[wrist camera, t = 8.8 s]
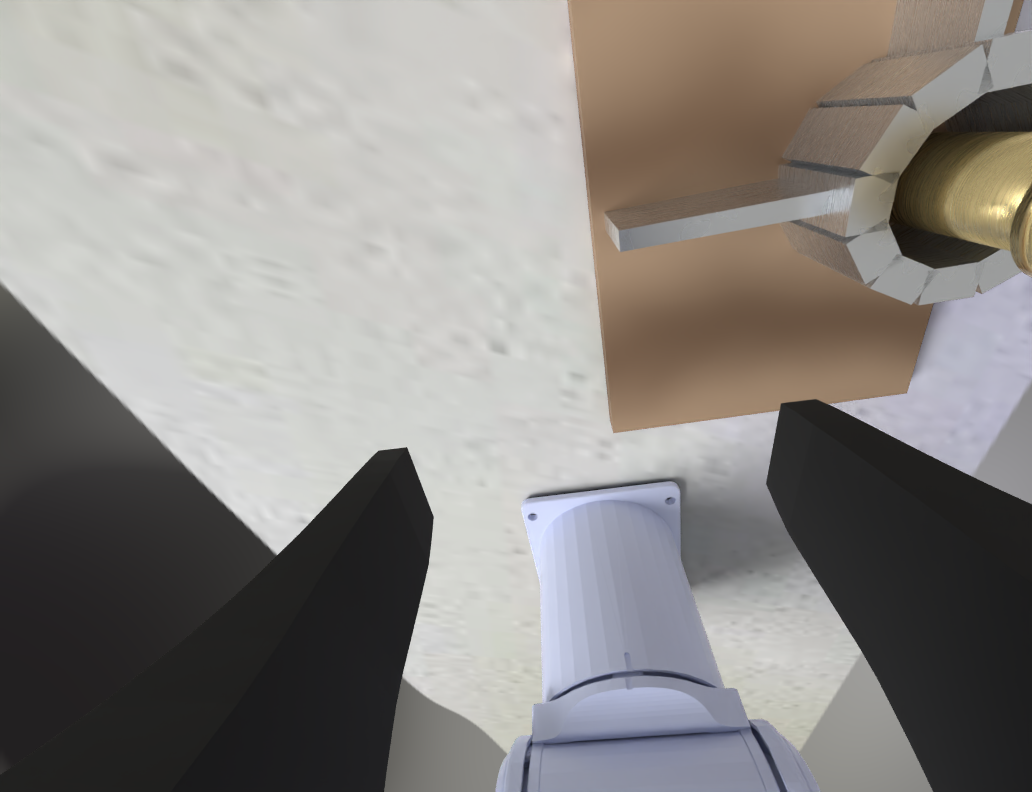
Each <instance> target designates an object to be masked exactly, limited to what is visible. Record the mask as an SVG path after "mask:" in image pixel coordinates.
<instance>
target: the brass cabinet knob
mask: <svg viewBox="0 0 1032 792" xmlns="http://www.w3.org/2000/svg"><path fill="white" fill-rule="evenodd" d="M889 222H891V223H895V224H899V225H904V226H908V227H912V228H916V229H920V230H924V231H929V232H933V233H937V234H941V235H945V236H949V237H953V238H958V239H962V240H966V241H970V242H974V243H978V244H983V245H987V246H991V247H995V248H999V249H1003V250H1008V251H1011V255H1012V258H1013V260H1014V262H1015V264H1016V265H1017V267H1018V268H1019V269H1020V270H1021V271H1022V272H1023V273H1024V274H1026V275H1028V276H1030V277H1032V132H931V133H930V135H929V136H928V138H927V139H926V140H925V142H924V143H923V144H922V146H921V147H920V149H919V150H918V151H917V153H916V154H915V156H914V157H913V158H912V160H911V161H910V163H909V164H908V165H907V167H906V168H905V169H904V171H903V172H902V174H901V175H900V176H899V178H898V183H897V187H896V192H895V196H894V201H893V205H892V210H891V214H890V219H889Z"/></svg>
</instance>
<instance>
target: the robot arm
mask: <svg viewBox="0 0 1032 792" xmlns="http://www.w3.org/2000/svg"><path fill="white" fill-rule="evenodd" d="M766 484H767V487H768V489H769V491H770V494H771V496H772V498H773V501H774V503H775V505H776V508H777V510H778V512H779V514H780V516H781V518H782V520H783V523H784V525H785V527H786V529H787V531H788V533H789V535H790V536H791V538H792V540H793V541H794V543H795V545H796V546H797V548H798V550H799V551H800V553H801V554H802V556H803V558H804V559H805V561H806V563H807V564H808V566H809V567H810V569H811V571H812V572H813V574H814V576H815V577H816V579H817V580H818V582H819V584H820V585H821V587H822V588H823V590H824V592H825V593H826V595H827V596H828V598H829V600H830V601H831V603H832V604H833V606H834V608H835V609H836V611H837V612H838V614H839V616H840V617H841V619H842V620H843V622H844V624H845V625H846V627H847V628H848V630H849V632H850V633H851V635H852V636H853V638H854V640H855V641H856V643H857V644H858V646H859V648H860V649H861V651H862V653H863V654H864V656H865V658H866V660H867V661H868V663H869V665H870V666H871V668H872V670H873V672H874V673H875V675H876V677H877V679H878V681H879V683H880V685H881V687H882V689H883V690H884V692H885V694H886V696H887V698H888V700H889V702H890V704H891V706H892V708H893V710H894V712H895V714H896V716H897V718H898V720H899V722H900V724H901V726H902V728H903V730H904V732H905V734H906V736H907V738H908V740H909V742H910V744H911V746H912V748H913V750H914V752H915V754H916V756H917V759H918V761H919V763H920V765H921V767H922V769H923V771H924V773H925V775H926V777H927V780H928V782H929V784H930V786H931V788H932V790H933V792H1032V504H1030V503H1028V502H1025V501H1023V500H1021V499H1019V498H1017V497H1014V496H1012V495H1010V494H1008V493H1006V492H1004V491H1001V490H999V489H997V488H995V487H993V486H991V485H988V484H986V483H984V482H982V481H980V480H978V479H976V478H974V477H972V476H970V475H968V474H965V473H963V472H961V471H959V470H957V469H955V468H953V467H951V466H949V465H947V464H945V463H943V462H941V461H939V460H937V459H935V458H933V457H931V456H929V455H927V454H925V453H923V452H921V451H919V450H917V449H915V448H913V447H911V446H909V445H907V444H905V443H904V442H902V441H900V440H898V439H896V438H894V437H892V436H890V435H888V434H886V433H884V432H882V431H880V430H878V429H876V428H874V427H872V426H870V425H869V424H867V423H865V422H863V421H861V420H859V419H857V418H855V417H853V416H851V415H849V414H847V413H845V412H843V411H841V410H839V409H837V408H835V407H833V406H830V405H828V404H826V403H824V402H822V401H819V400H817V399H812V400H803V401H795V402H786V403H781V406H780V411H779V417H778V422H777V428H776V433H775V438H774V444H773V449H772V455H771V460H770V466H769V471H768V477H767V482H766ZM669 497H672V498H671V499H667V498H669ZM531 513H534V514H535V515H530V514H531ZM522 514H523V518H524V522H525V526H526V530H527V534H528V538H529V542H530V545H531V549H532V553H533V557H534V561H535V565H536V569H537V573H538V577H539V581H540V599H541V646H542V694H543V703H539V704H534V705H533V706H532V735H525V736H520V737H518V738H517V739H516V740H515V741H514V743H513V745H512V747H511V750H510V751H509V753H508V754H507V756H506V758H505V759H504V760H503V763H502V765H501V768H500V771H499V775H498V779H497V785H496V791H495V792H821V791H820V789H819V787H818V784H817V782H816V780H815V779H814V777H813V775H812V773H811V771H810V769H809V768H808V766H807V764H806V762H805V761H804V759H803V758H802V756H801V754H800V753H799V752H798V750H797V749H796V748H795V746H794V745H793V744H792V743H791V742H790V741H789V740H788V739H786V738H785V737H784V736H783V735H781V734H780V733H779V732H778V731H777V730H776V728H775V727H774V726H773V725H771V724H770V723H769V722H768V721H766V720H764V719H750V720H748V718H747V716H746V713H745V710H744V707H743V705H742V702H741V699H740V696H739V693H738V691H737V689H735V688H725V687H724V684H723V681H722V678H721V675H720V673H719V670H718V667H717V664H716V661H715V658H714V655H713V652H712V649H711V646H710V643H709V640H708V637H707V635H706V632H705V629H704V626H703V623H702V620H701V617H700V614H699V611H698V608H697V605H696V602H695V599H694V596H693V594H692V591H691V588H690V585H689V582H688V579H687V576H686V573H685V570H684V567H683V564H682V561H681V535H680V489H679V487H678V485H677V484H676V483H675V482H669V481H668V482H660V483H652V484H643V485H635V486H627V487H619V488H610V489H602V490H594V491H585V492H577V493H569V494H561V495H552V496H544V497H536V498H529V499H526V500H524V501H523V502H522ZM433 519H434V517H433V514H432V512H431V509H430V506H429V504H428V501H427V498H426V496H425V493H424V491H423V488H422V485H421V483H420V480H419V477H418V475H417V472H416V470H415V467H414V464H413V462H412V459H411V456H410V454H409V451H408V449H407V447H406V448H398V449H389V450H381V451H378V452H377V453H376V454H375V455H374V456H373V457H372V458H371V459H370V460H369V461H368V462H367V463H366V464H365V465H364V466H363V467H362V468H361V469H360V470H359V471H358V472H357V473H356V474H355V475H354V477H353V478H352V479H351V480H350V481H349V482H348V483H347V484H346V485H345V486H344V487H343V488H342V489H341V491H340V492H339V493H338V494H337V495H336V496H335V497H334V498H333V499H332V500H331V501H330V502H329V503H328V504H327V505H326V507H325V508H324V509H323V510H322V511H321V512H320V513H319V514H318V515H317V516H316V517H315V518H314V519H313V520H312V521H311V522H310V523H309V524H308V526H307V527H306V528H305V529H304V530H303V531H302V532H301V533H300V534H299V535H298V536H297V537H296V538H295V539H294V540H293V541H292V542H291V543H290V544H289V545H287V546H286V547H285V548H284V549H283V550H282V551H281V552H280V553H279V554H278V555H277V556H276V557H275V558H274V559H273V560H272V561H271V562H270V563H269V564H268V565H267V566H266V567H265V568H264V569H263V570H262V571H261V572H260V573H259V574H258V575H257V576H256V577H255V578H254V579H253V580H252V581H250V583H248V584H247V585H246V586H245V587H244V588H243V589H242V590H241V591H240V592H238V593H237V594H236V595H235V596H234V597H233V598H232V599H231V600H230V601H228V602H227V603H226V604H225V605H224V606H223V607H222V608H220V609H219V610H218V611H217V612H216V613H215V614H213V615H212V616H211V617H210V618H209V619H208V620H206V621H205V622H204V623H203V624H202V625H200V626H199V627H198V628H197V629H196V630H195V631H193V632H192V633H191V634H190V635H189V636H187V637H186V638H185V639H184V640H183V641H181V642H180V643H179V644H178V645H176V646H175V647H174V648H172V649H171V650H170V651H169V652H167V653H166V654H165V655H164V656H162V657H161V658H160V659H158V660H157V661H156V662H154V663H153V664H152V665H151V666H149V667H148V668H147V669H145V670H144V671H143V672H142V673H140V674H139V675H138V676H136V677H135V678H134V679H133V680H131V681H130V682H129V683H127V684H126V685H125V686H124V687H122V688H121V689H120V690H119V691H117V692H116V693H114V694H113V695H112V696H111V697H109V698H108V699H107V700H105V701H104V702H103V703H101V704H100V705H99V706H97V707H96V708H95V709H93V710H92V711H91V712H89V713H88V714H87V715H85V716H83V717H82V718H81V719H79V720H78V721H77V722H75V723H74V724H72V725H71V726H70V727H68V728H67V729H66V730H64V731H63V732H61V733H60V734H58V735H57V736H56V737H54V738H53V739H52V740H50V741H48V742H47V743H46V744H44V745H43V746H42V747H40V748H38V749H37V750H35V751H34V752H33V753H31V754H30V755H28V756H27V757H25V758H24V759H22V760H21V761H20V762H18V763H17V764H15V765H14V766H12V767H11V768H10V769H8V770H7V771H5V772H4V773H2V774H1V775H0V792H384V787H385V779H386V771H387V764H388V757H389V750H390V743H391V737H392V730H393V723H394V716H395V709H396V703H397V699H398V694H399V688H400V684H401V679H402V674H403V670H404V666H405V662H406V658H407V654H408V649H409V645H410V641H411V637H412V633H413V629H414V624H415V620H416V616H417V612H418V608H419V604H420V599H421V595H422V591H423V587H424V582H425V578H426V574H427V569H428V565H429V557H430V549H431V540H432V529H433Z"/></svg>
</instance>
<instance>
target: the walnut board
mask: <svg viewBox="0 0 1032 792" xmlns="http://www.w3.org/2000/svg"><path fill="white" fill-rule="evenodd" d="M1023 1H1024V0H1013V4H1012V7H1011V11H1010V14H1009V18H1008V21H1007V25H1006V28H1005V32H1004V34H1007V33H1013V32H1014V31H1015V28H1016V24H1017V21H1018V18H1019V14H1020V11H1021V8H1022V4H1023ZM896 5H897V0H568V9H569V19H570V29H571V39H572V49H573V59H574V68H575V78H576V88H577V98H578V108H579V118H580V128H581V138H582V147H583V157H584V167H585V177H586V187H587V197H588V207H589V216H590V226H591V236H592V246H593V256H594V266H595V276H596V285H597V295H598V305H599V315H600V325H601V335H602V345H603V354H604V364H605V374H606V384H607V394H608V404H609V414H610V421H611V425H612V429H613V433H617V432H625V431H632V430H639V429H647V428H654V427H661V426H669V425H676V424H683V423H691V422H698V421H706V420H713V419H720V418H728V417H735V416H742V415H750V414H757V413H765V412H772V411H779V410H780V406H781V403H786V402H795V401H803V400H812V399H817V400H819V401H822V402H824V403H826V404H831V403H838V402H846V401H853V400H860V399H868V398H875V397H882V396H890V395H897V394H904V393H907V391H908V388H909V384H910V381H911V377H912V374H913V371H914V367H915V364H916V361H917V357H918V354H919V351H920V347H921V344H922V340H923V337H924V334H925V330H926V327H927V324H928V320H929V317H930V314H931V310H932V307H933V303H931V304H925V305H916V304H914V303H913V304H912V305H910V304H908V303H905V302H903V301H900V300H898V299H895V298H893V297H890V296H888V295H885V294H883V293H880V292H878V291H875V290H873V289H870V288H868V287H866V286H864V285H862V284H860V283H858V282H856V281H854V280H852V279H850V278H848V277H846V276H844V275H842V274H840V273H838V272H836V271H834V270H832V269H830V268H828V267H826V266H824V265H822V264H820V263H818V262H816V261H814V260H812V259H810V258H808V257H806V256H804V255H802V254H800V253H798V252H797V250H795V249H793V248H792V246H791V244H790V242H789V240H788V239H787V237H786V235H785V233H784V231H783V229H782V227H781V226H780V224H779V223H776V224H770V225H765V226H760V227H754V228H749V229H743V230H738V231H732V232H727V233H721V234H716V235H710V236H705V237H700V238H694V239H689V240H683V241H678V242H672V243H667V244H661V245H656V246H651V247H645V248H640V249H634V250H629V251H623V252H620V251H619V250H618V248H617V247H616V245H615V244H614V242H613V241H612V239H611V238H610V236H609V235H608V233H607V232H606V230H605V220H604V212H607V211H613V210H618V209H623V208H628V207H633V206H638V205H643V204H649V203H654V202H659V201H664V200H669V199H674V198H679V197H684V196H690V195H695V194H700V193H705V192H710V191H715V190H720V189H725V188H731V187H736V186H741V185H746V184H751V183H756V182H761V181H766V180H772V179H777V178H778V169H779V165H780V164H785V163H790V161H788V160H786V159H783V158H781V157H782V156H783V154H784V152H785V151H786V149H787V147H788V145H789V144H790V142H791V140H792V139H793V137H794V135H795V133H796V132H797V130H798V128H799V127H800V125H801V123H802V121H803V120H804V118H805V116H806V115H807V113H808V111H809V109H810V108H818V105H817V103H816V101H817V100H819V99H820V98H821V97H822V96H824V95H825V94H826V93H828V92H829V91H830V90H831V89H833V88H834V87H835V86H836V85H838V84H839V83H840V82H842V81H843V80H844V79H845V78H847V77H848V76H849V75H850V74H852V73H853V72H854V71H856V70H857V69H858V68H859V67H861V66H862V65H863V64H866V63H871V61H872V60H874V59H879V58H883V57H887V53H888V47H889V42H890V37H891V31H892V26H893V21H894V15H895V10H896ZM932 132H948V131H947V128H946V125H945V122H943V123H942V124H940V125H939V126H937V127H936V128H935V129H933V131H932ZM890 223H891V222H889V224H890Z"/></svg>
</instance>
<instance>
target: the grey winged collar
mask: <svg viewBox="0 0 1032 792" xmlns="http://www.w3.org/2000/svg"><path fill="white" fill-rule="evenodd" d="M1012 4H1013V0H897V5H896V10H895V15H894V21H893V26H892V31H891V37H890V42H889V47H888V53H887V57H883V58H879V59H874V60H872V61H871V63H866V64H863V65H862V66H861V67H859V68H858V69H857V70H856V71H854V72H853V73H852V74H850V75H849V76H848V77H847V78H845V79H844V80H843V81H842V82H840V83H839V84H838V85H836V86H835V87H834V88H833V89H831V90H830V91H829V92H828V93H826V94H825V95H824V96H822V97H821V98H820V99H819V100H817V101H816V103H817V105H818V108H810V109H809V111H808V113H807V115H806V116H805V118H804V120H803V121H802V123H801V125H800V127H799V128H798V130H797V132H796V133H795V135H794V137H793V139H792V140H791V142H790V144H789V145H788V147H787V149H786V151H785V152H784V154H783V156H782V157H781V158H783V159H786V160H788V161H790V163H785V164H780V165H779V169H778V178H777V179H772V180H766V181H761V182H756V183H751V184H746V185H741V186H736V187H731V188H725V189H720V190H715V191H710V192H705V193H700V194H695V195H690V196H684V197H679V198H674V199H669V200H664V201H659V202H654V203H649V204H643V205H638V206H633V207H628V208H623V209H618V210H613V211H607V212H604V220H605V230H606V232H607V233H608V235H609V236H610V238H611V239H612V241H613V242H614V244H615V245H616V247H617V248H618V250H619V251H620V252H623V251H629V250H634V249H640V248H645V247H651V246H656V245H661V244H667V243H672V242H678V241H683V240H689V239H694V238H700V237H705V236H710V235H716V234H721V233H727V232H732V231H738V230H743V229H749V228H754V227H760V226H765V225H770V224H776V223H779V224H780V226H781V227H782V229H783V231H784V233H785V235H786V237H787V239H788V240H789V242H790V244H791V246H792V248H793V249H795V250H797V252H798V253H800V254H802V255H804V256H806V257H808V258H810V259H812V260H814V261H816V262H818V263H820V264H822V265H824V266H826V267H828V268H830V269H832V270H834V271H836V272H838V273H840V274H842V275H844V276H846V277H848V278H850V279H852V280H854V281H856V282H858V283H860V284H862V285H864V286H866V287H868V288H870V289H873V290H875V291H878V292H880V293H883V294H885V295H888V296H890V297H893V298H895V299H898V300H900V301H903V302H905V303H908V304H910V305H912V304H913V303H914V304H916V305H925V304H931V303H937V302H944V301H950V300H957V299H963V298H969V297H974V295H975V292H979V293H981V294H983V293H984V292H986V291H988V290H990V289H992V288H993V287H995V286H997V285H999V284H1001V283H1002V282H1004V281H1006V280H1008V279H1010V278H1011V277H1013V276H1015V275H1017V274H1019V273H1020V272H1022V271H1021V270H1020V269H1019V268H1018V267H1017V265H1016V264H1015V262H1014V260H1013V258H1012V255H1011V251H1008V250H1003V249H999V248H995V247H991V246H987V245H983V244H978V243H974V242H970V241H966V240H962V239H958V238H953V237H949V236H945V235H941V234H937V233H933V232H929V231H924V230H920V229H916V228H912V227H908V226H904V225H899V224H895V223H890V224H889V219H890V214H891V210H892V205H893V201H894V196H895V192H896V187H897V183H898V178H899V176H900V175H901V174H902V172H903V171H904V169H905V168H906V167H907V165H908V164H909V163H910V161H911V160H912V158H913V157H914V156H915V154H916V153H917V151H918V150H919V149H920V147H921V146H922V144H923V143H924V142H925V140H926V139H927V138H928V136H929V135H930V133H931V132H932V131H933V129H935V128H936V127H937V126H939V125H940V124H942V123H943V122H945V125H946V128H947V131H948V132H1032V29H1029V30H1024V31H1018V32H1013V33H1007V34H1004V32H1005V28H1006V25H1007V21H1008V18H1009V14H1010V11H1011V7H1012Z"/></svg>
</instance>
